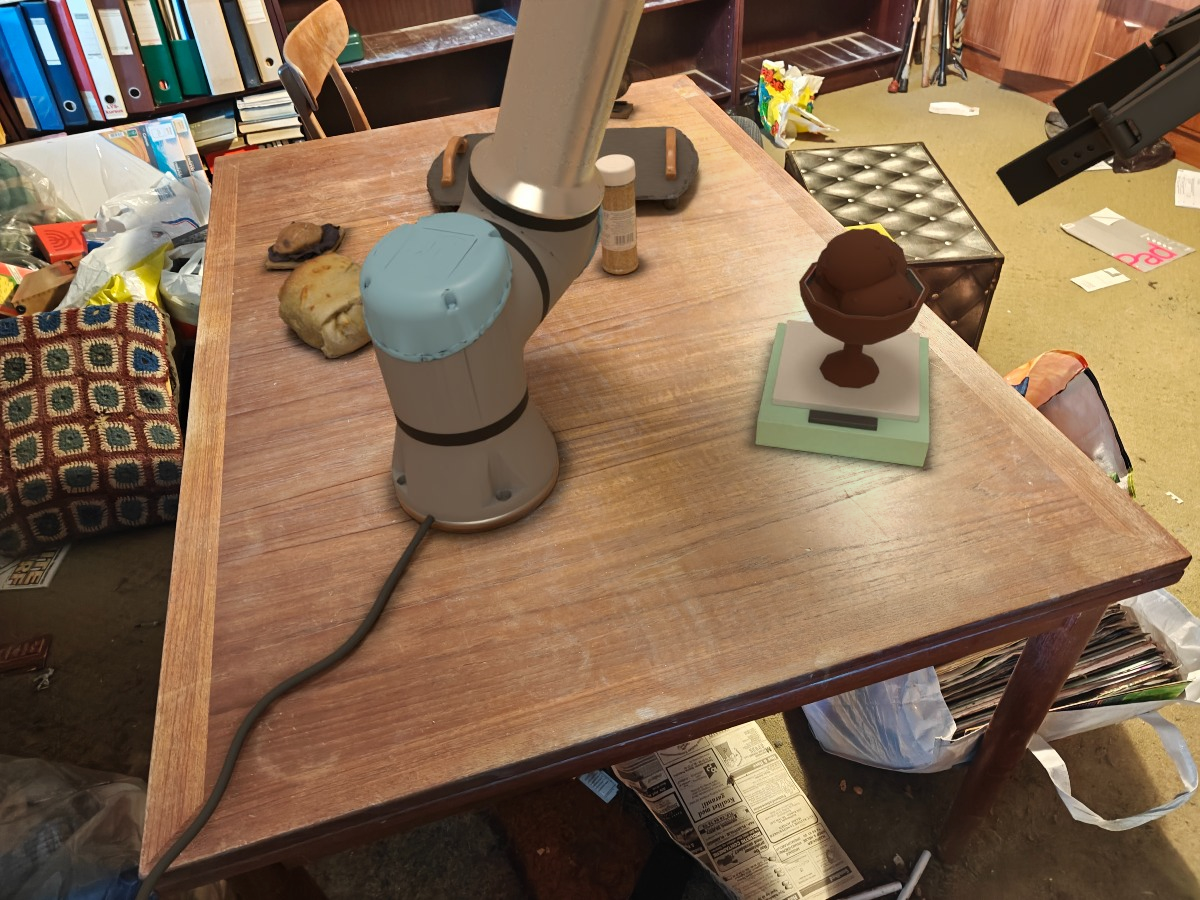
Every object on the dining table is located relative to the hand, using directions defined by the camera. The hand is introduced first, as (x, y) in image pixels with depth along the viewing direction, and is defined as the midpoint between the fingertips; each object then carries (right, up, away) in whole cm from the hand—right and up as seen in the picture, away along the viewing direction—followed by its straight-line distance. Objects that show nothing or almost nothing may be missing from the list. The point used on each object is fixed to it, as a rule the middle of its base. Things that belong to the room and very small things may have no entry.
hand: (1036, 149), depth 60 cm
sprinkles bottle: (-28, +1, +45) cm, 53 cm away
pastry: (-61, -7, +39) cm, 73 cm away
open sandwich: (-70, +5, +53) cm, 87 cm away
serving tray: (-36, +17, +63) cm, 75 cm away
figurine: (-29, +34, +81) cm, 92 cm away
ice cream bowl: (-7, -14, +21) cm, 26 cm away
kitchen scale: (-7, -17, +24) cm, 30 cm away
